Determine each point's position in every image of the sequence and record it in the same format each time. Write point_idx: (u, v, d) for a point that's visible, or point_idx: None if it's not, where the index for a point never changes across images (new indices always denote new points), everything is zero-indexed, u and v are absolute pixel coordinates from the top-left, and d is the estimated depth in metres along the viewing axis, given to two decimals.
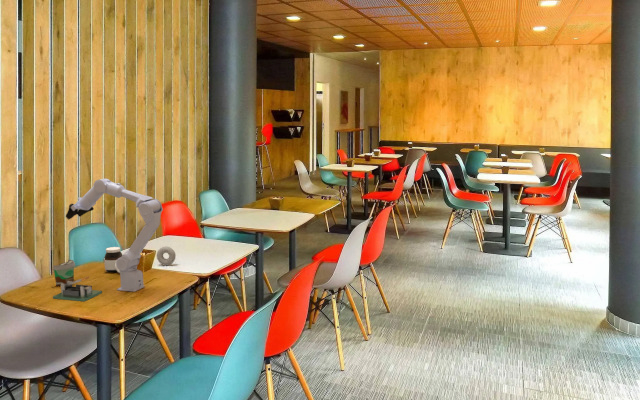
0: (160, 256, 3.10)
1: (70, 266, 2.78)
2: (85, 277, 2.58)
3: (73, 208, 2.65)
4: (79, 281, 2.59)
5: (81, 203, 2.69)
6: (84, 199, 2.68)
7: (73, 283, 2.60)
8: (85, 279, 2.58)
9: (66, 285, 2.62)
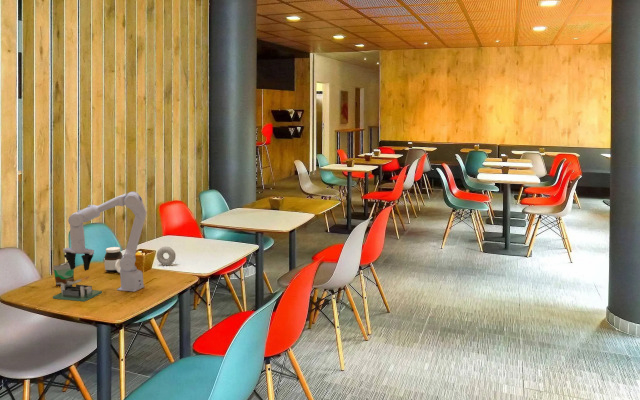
0: (160, 256, 3.10)
1: None
2: (85, 277, 2.58)
3: (93, 252, 2.63)
4: (79, 281, 2.59)
5: (83, 248, 2.63)
6: (82, 242, 2.62)
7: (73, 283, 2.60)
8: (85, 279, 2.58)
9: (66, 285, 2.62)
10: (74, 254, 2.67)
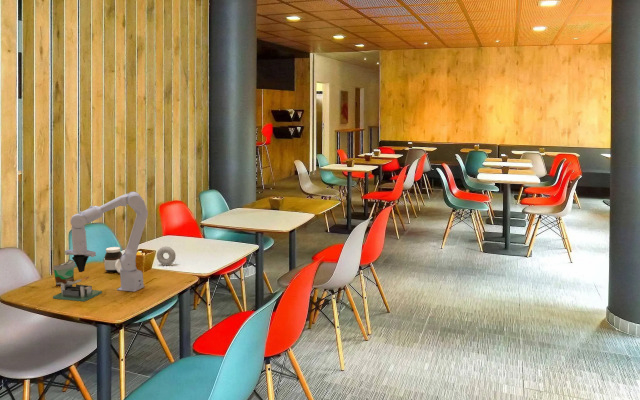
0: (160, 256, 3.10)
1: (70, 266, 2.78)
2: (85, 277, 2.58)
3: (94, 254, 2.60)
4: (79, 281, 2.59)
5: (84, 250, 2.61)
6: (83, 244, 2.60)
7: (73, 283, 2.60)
8: (85, 279, 2.58)
9: (66, 285, 2.62)
10: None
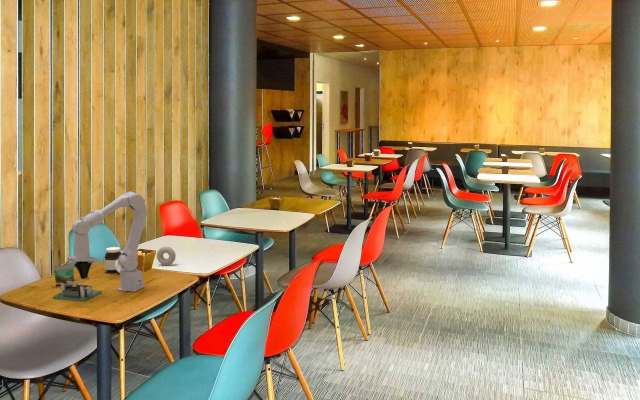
0: (160, 256, 3.10)
1: (70, 266, 2.78)
2: (85, 278, 2.58)
3: (97, 260, 2.57)
4: (79, 281, 2.59)
5: (87, 256, 2.57)
6: (86, 251, 2.56)
7: (73, 283, 2.60)
8: (85, 279, 2.58)
9: (66, 285, 2.62)
10: None
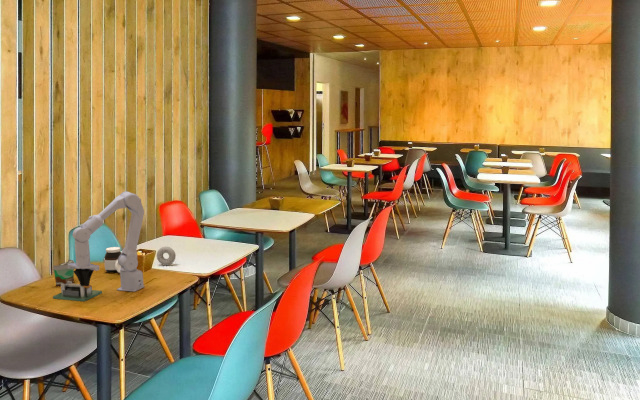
0: (160, 256, 3.10)
1: None
2: (87, 286, 2.59)
3: (98, 267, 2.57)
4: None
5: (88, 263, 2.58)
6: (87, 258, 2.57)
7: (74, 286, 2.61)
8: None
9: (66, 286, 2.62)
10: (84, 270, 2.61)
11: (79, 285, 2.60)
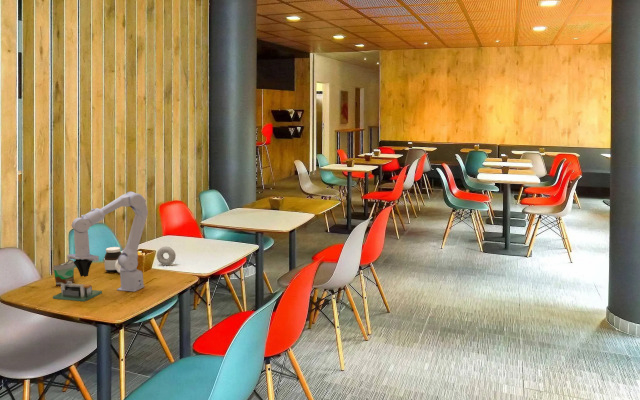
0: (160, 256, 3.10)
1: (70, 266, 2.78)
2: (87, 286, 2.59)
3: (97, 258, 2.57)
4: None
5: (87, 254, 2.57)
6: (86, 248, 2.56)
7: (74, 286, 2.61)
8: None
9: (66, 286, 2.62)
10: (84, 261, 2.60)
11: (79, 285, 2.60)
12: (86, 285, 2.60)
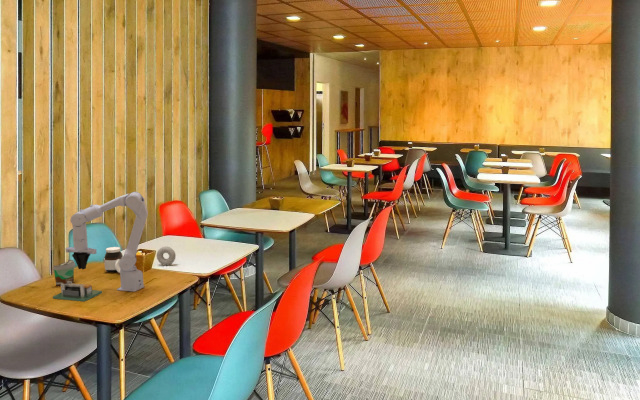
0: (160, 256, 3.10)
1: (70, 266, 2.78)
2: (87, 286, 2.59)
3: (95, 251, 2.64)
4: None
5: (85, 247, 2.65)
6: (84, 242, 2.64)
7: (74, 286, 2.61)
8: None
9: (66, 286, 2.62)
10: (82, 254, 2.68)
11: (79, 285, 2.60)
12: (86, 285, 2.60)
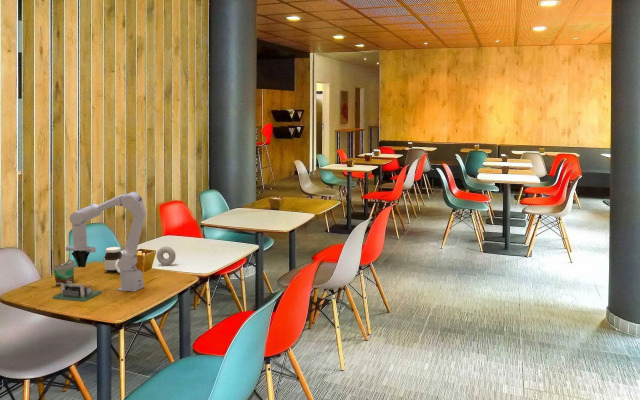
0: (160, 256, 3.10)
1: (70, 266, 2.78)
2: (87, 286, 2.59)
3: (94, 249, 2.67)
4: None
5: (85, 245, 2.67)
6: (84, 240, 2.67)
7: (74, 286, 2.61)
8: None
9: (66, 286, 2.62)
10: None
11: (79, 285, 2.60)
12: (86, 285, 2.60)
